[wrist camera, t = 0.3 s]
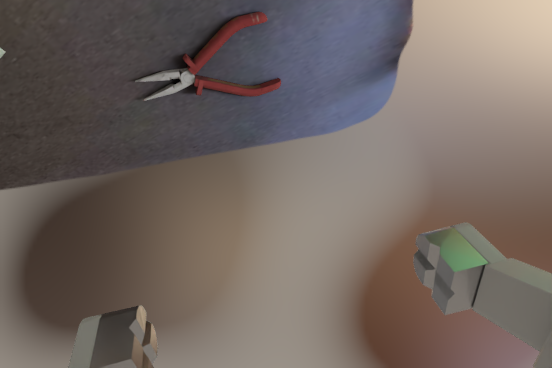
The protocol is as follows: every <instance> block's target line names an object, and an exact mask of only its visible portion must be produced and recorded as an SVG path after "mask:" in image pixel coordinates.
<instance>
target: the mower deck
mask: <svg viewBox="0 0 552 368" xmlns="http://www.w3.org/2000/svg"><path fill="white" fill-rule="evenodd" d="M4 53H5V51H4V50H2V49H1V48H0V58H1V57H2V56H3V55H4Z"/></svg>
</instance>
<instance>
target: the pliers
mask: <svg viewBox="0 0 552 368" xmlns="http://www.w3.org/2000/svg"><path fill="white" fill-rule="evenodd" d="M266 21H267V17H266V15H265V14H264V13H262V12H255V13H251V14H247V15H242V16H238V17H236V18H234V19H232V20H230V21H229V22H228V23H226V24H225V25H224V26H223V27H222V28H221V29H220V30H219V31H218V32H217V33H216V34H215V35H214V37H213V38H212V39H211V40H210V41H209V42H208V43H207V44H206V45H205V46H204V47H203V49H202V50H201V51H200V52H199V53H198V54H197V55H196V56H195V57H194V58H193V59H191V58H190V57H189V56H188V55H187V54H185V55H184V56H183V60H184V61H185V62H186V63H187V64H188V65H187V68H183V69H173V70H166V71H162V72H159V73H156V74H153V75H150V76H147V77H144V78H141V79H138V80H135V82H143V81H163V80H170V79H178V78H181V82H179V83H177V84H175V85H174V84H173V83H171V84H169V85H168V86H166V87H164V88H162V89H160V90H159V91H157V92H155V93H153V94H152V95H150V96H148V97H146V98H145V99H143V101H145V100H149V99H153V98H157V97H161V96H165V95H169V94H173V93H175V92H177V91H180V90H182V89H184V88H186V87H187V86H189V85H191V84H194V86H196V95H200V96H201V93H202V88H207V89H212V90H217V91H222V92H227V93H231V94H236V95H241V96H259V95H262V94H265V93H268V92H270V91H273V90H276V89H278V88H279V87H280V85H281V80H280V79H279V78H277V79H274V80H271V81H268V82H265V83H262V84H259V85H254V86H246V85H240V84H235V83H231V82H226V81H222V80H217V79H213V78H208V77H203V76H199V75H195V74H196V73H197V72H198V71H199V70H200V69H201V68H202V67H203V65H204V64H205V63H206V62H207V61H208V60H209V59H210V58H211V57H212V56H213V55H214V54H215V53H216V52H217V50H218V49H219V48H220V47H221V46H222V45H223V44H224V43H225V42H226V41H227V40H228V39H229V38H230V37H231V36H232V35H233V34H234V33H235V32H237V31H238V30H240V29H242V28H245V27H248V26H252V25H256V24H260V23H263V22H266Z"/></svg>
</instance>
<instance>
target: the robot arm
mask: <svg viewBox="0 0 552 368" xmlns="http://www.w3.org/2000/svg"><path fill="white" fill-rule="evenodd" d="M416 245H417V247H418V248H419V250H418V251H417V252H416V253H415V254H414V267H415V272H416V274H417V276H418V278H419V279H420V281H421V282H422V284H423V285H424V286H426V287H429V288H430V289H432V298H433V299H434V301H435V302H436V303H437V305H438V306H439V308H440V309H441V310H442V312H443V313H444V314H445V315H447V314H451V313H455V312H459V311H463V310H467V309H471V308H473V311H475V312H477V313H478V314H480V315H482V316H483V317H485V318H487V319H488V320H490V321H491V322H493V323H494V324H496V325H498V326H499V327H501V328H503V329H504V330H506V331H507V332H509V333H511V334H512V335H514V336H515V337H517V338H519V339H521V340H522V341H524V342H525V343H527V344H528V345H530V346H532V347H533V348H535V349H537V350H538V351H540V353H539V355H538V357H537V359H536V361H535V363H534V365H533V368H552V274H551V273H549V272H546V271H544V270H541V269H539V268H536V267H534V266H531V265H528V264H526V263H523V262H520V261H518V260H516V259H513V258H510V259H506V258H505V257H504V256H503V255H502V254H501V253H500V252H499V251H498V250H497V249H496V248H495V247H494V246H493V245H492V244H491V243H490V242H489V241H488V240H487V239H486V238H484V237H483V236H482V235H481V234H480V233H479V232H478V231H477V230H476V229H475V228H474V227H473V226H472V225H471V224H469V223H462V224H458V225H454V226H450V227H445V228H442V229H438V230H434V231H430V232H427V233H423V234H419V235H418V237H417V238H416ZM157 352H158V345H157V336H156V333H155V329H154V327H153V325H152V323H150V322H148V321H146V311H145V310H144V308H143V307H142V306H136V307H131V308H127V309H123V310H118V311H114V312H109V313H105V314H101V315H98V316H93V317H89V318H84V319H83V320H82V322H81V323H80V325H79V329H78V333H77V337H76V340H75V345H74V348H73V351H72V355H71V359H70V363H69V367H68V368H154V367H153V365H152V364H153V362H154V361H155V359H156V358H157Z"/></svg>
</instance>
